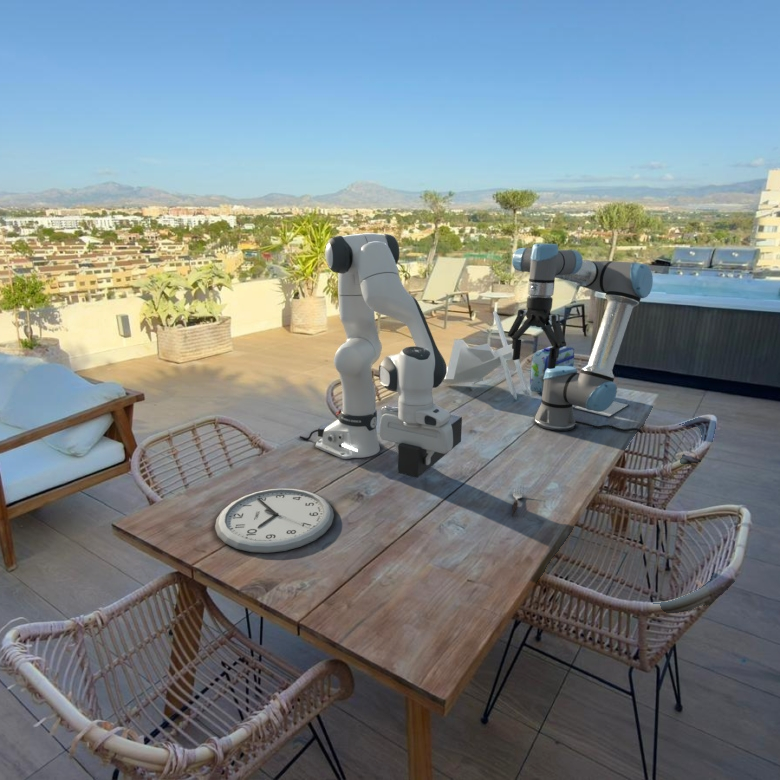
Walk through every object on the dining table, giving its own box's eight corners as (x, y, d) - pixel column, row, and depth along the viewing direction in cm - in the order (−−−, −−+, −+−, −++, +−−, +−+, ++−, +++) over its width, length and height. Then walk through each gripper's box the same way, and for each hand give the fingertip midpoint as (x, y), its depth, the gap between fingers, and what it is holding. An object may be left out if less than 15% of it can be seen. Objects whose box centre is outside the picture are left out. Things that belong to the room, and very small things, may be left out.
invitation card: (608, 416, 214) (573, 407, 224) (608, 416, 214) (573, 408, 224) (628, 404, 229) (594, 396, 238) (628, 405, 229) (594, 397, 238)
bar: (443, 437, 159) (444, 413, 157) (461, 441, 157) (462, 416, 154) (398, 473, 137) (398, 444, 134) (417, 478, 134) (418, 449, 131)
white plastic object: (461, 429, 252) (437, 405, 227) (444, 352, 274) (420, 323, 250) (535, 404, 240) (518, 377, 215) (510, 326, 262) (492, 293, 237)
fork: (506, 517, 138) (507, 510, 138) (514, 490, 152) (515, 483, 152) (516, 518, 137) (517, 512, 137) (523, 491, 152) (524, 485, 151)
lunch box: (546, 398, 236) (551, 353, 229) (525, 393, 243) (529, 349, 237) (573, 387, 253) (579, 344, 247) (553, 382, 260) (558, 341, 254)
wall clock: (332, 544, 122) (200, 548, 120) (332, 550, 123) (201, 555, 120) (334, 484, 151) (228, 486, 148) (334, 489, 151) (228, 491, 149)
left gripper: (374, 407, 136) (374, 456, 140) (446, 422, 126) (444, 474, 130) (386, 401, 141) (386, 448, 145) (456, 414, 131) (454, 464, 135)
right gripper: (500, 292, 166) (495, 357, 172) (568, 301, 147) (560, 374, 154) (515, 291, 171) (509, 354, 177) (583, 300, 152) (574, 370, 158)
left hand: (414, 460), depth 137 cm, fingers closed on bar, 6 cm apart
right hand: (533, 363), depth 165 cm, fingers open, 13 cm apart
